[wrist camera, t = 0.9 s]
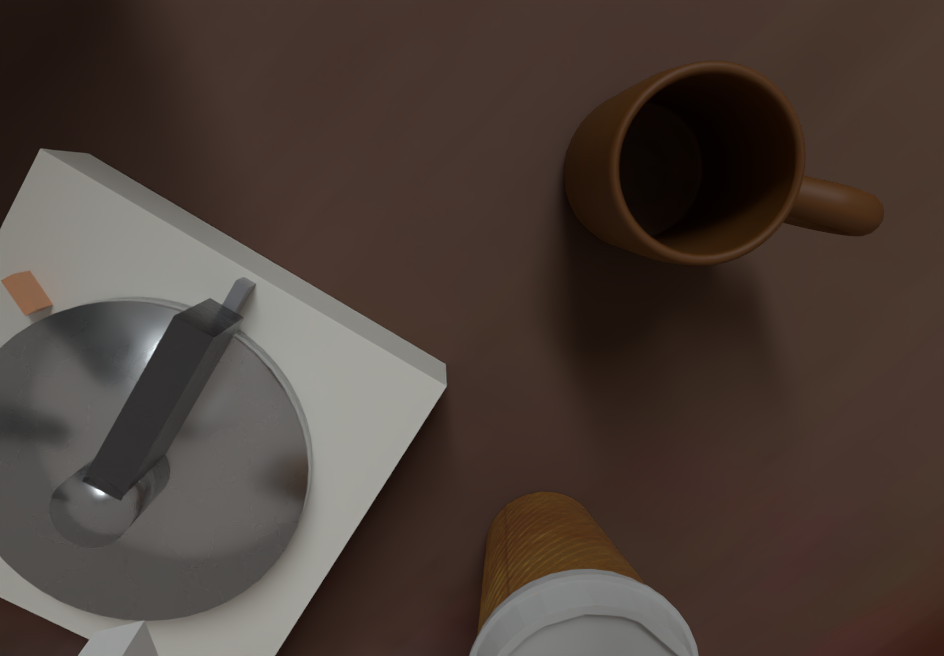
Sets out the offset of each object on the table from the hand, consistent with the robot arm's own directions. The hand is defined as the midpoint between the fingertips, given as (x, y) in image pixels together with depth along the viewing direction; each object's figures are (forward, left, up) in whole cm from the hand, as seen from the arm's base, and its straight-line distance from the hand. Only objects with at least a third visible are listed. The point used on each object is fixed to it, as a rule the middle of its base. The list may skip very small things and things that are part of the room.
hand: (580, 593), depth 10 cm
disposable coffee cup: (+10, -9, -25) cm, 28 cm away
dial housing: (-10, -13, -25) cm, 30 cm away
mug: (+5, +11, -25) cm, 28 cm away
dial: (-10, -13, -21) cm, 26 cm away
